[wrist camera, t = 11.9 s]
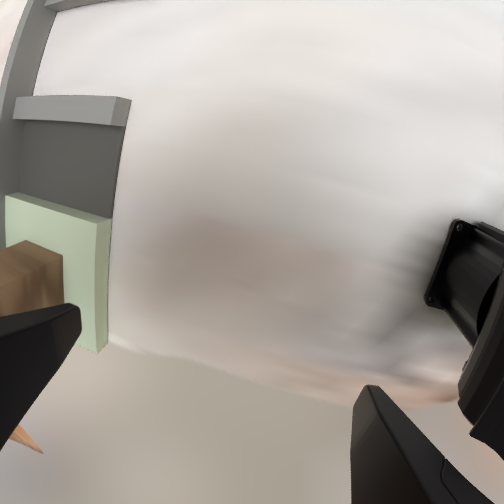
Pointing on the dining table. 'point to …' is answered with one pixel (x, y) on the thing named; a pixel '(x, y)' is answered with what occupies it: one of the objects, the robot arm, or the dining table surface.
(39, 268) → the walnut block
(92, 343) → the tray
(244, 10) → the dining table surface
